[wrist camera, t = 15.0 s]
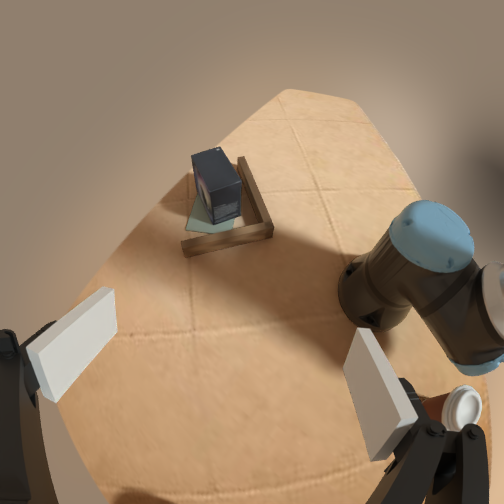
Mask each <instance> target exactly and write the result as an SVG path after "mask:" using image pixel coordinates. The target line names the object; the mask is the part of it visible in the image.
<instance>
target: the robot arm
mask: <svg viewBox="0 0 504 504" xmlns="http://www.w3.org/2000/svg"><path fill="white" fill-rule="evenodd" d="M469 235H470V231H469V229H468V227H467V225H466V224H465V223H464V221H463V220H462V219H461V218H460V217H459V216H458V215H457V214H456V213H455V212H454V211H452V210H451V209H449V208H448V207H446V206H444V205H442V204H440V203H437V202H431V201H429V200H420V201H415V202H413V203H411V204H409V205H408V206H406V207H405V208H404V210H403V211H402V212H401V213H400V214H399V215H398V216H397V217H396V218H394V219H393V221H392V222H391V225H390V227H389V228H388V230H387V231H386V232H385V234H384V235H383V236H382V238H381V239H380V240H379V242H378V243H377V244H376V246H375V247H374V248H373V249H372V251H370V252H368V253H366V254H363V255H361V256H359V257H357V258H355V259H354V260H353V261H351V262H350V263H349V265H348V266H347V267H346V268H345V270H344V271H343V273H342V275H341V277H340V280H339V285H338V295H339V300H340V304H341V306H342V308H343V310H344V312H345V314H346V315H347V316H348V318H349V319H350V320H351V321H352V322H353V323H354V324H356V325H357V326H358V327H360V328H357V330H356V333H355V335H354V338H353V341H352V344H351V347H350V350H349V352H348V355H347V358H346V360H345V363H344V366H343V371H344V375H345V378H346V381H347V384H348V387H349V390H350V393H351V396H352V400H353V403H354V406H355V409H356V413H357V416H358V419H359V423H360V426H361V430H362V433H363V437H364V440H365V444H366V447H367V451H368V454H369V458H370V462H371V461H379V460H386V459H387V458H388V457H389V456H390V455H391V453H392V452H393V453H394V455H395V459H394V460H393V461H392V463H391V464H390V465H389V466H388V467H387V468H386V469H385V470H384V472H386V473H385V475H384V476H383V478H382V480H381V481H380V483H379V484H378V486H377V487H376V489H375V491H374V492H373V494H372V495H371V497H370V498H369V499H368V501H367V502H366V504H422V503H423V501H424V498H425V496H426V499H425V504H489V473H488V458H487V448H486V440H485V434H484V431H483V430H482V429H481V427H479V426H478V425H476V424H473V423H468V424H466V425H464V427H463V428H462V429H461V431H460V432H459V431H447V429H446V427H445V426H444V425H443V424H442V423H440V422H439V421H436V420H431V419H430V417H429V415H428V414H427V412H426V410H425V408H424V406H423V404H422V403H421V401H420V399H419V397H418V395H417V394H416V393H415V390H414V388H413V386H412V385H411V384H410V383H409V382H408V381H407V380H406V379H405V378H398V377H397V376H396V374H395V372H394V370H393V368H392V366H391V365H390V363H389V361H388V359H387V357H386V356H385V354H384V352H383V350H382V349H381V347H380V345H379V343H378V342H377V340H376V338H375V336H374V335H373V333H372V332H383V331H387V330H389V329H391V328H393V327H395V326H397V325H398V324H399V323H401V322H402V321H403V320H404V319H405V317H406V316H407V314H408V312H409V311H410V309H411V307H412V306H413V307H414V309H415V310H416V311H417V313H418V314H419V315H420V317H421V318H422V319H423V321H424V322H425V324H426V325H427V327H428V328H429V329H430V331H431V332H432V334H433V335H434V337H435V338H436V340H437V341H438V343H439V344H440V346H441V347H442V349H443V350H444V352H445V353H446V355H447V357H448V358H449V360H450V361H451V362H452V363H453V364H454V365H455V366H456V367H457V369H458V370H459V371H460V372H461V373H463V374H464V375H468V376H479V375H483V374H486V373H488V372H491V371H492V370H494V369H496V368H497V367H498V366H499V364H500V363H501V362H504V264H502V263H500V262H496V261H492V262H490V263H488V264H487V265H486V266H484V267H483V268H482V269H480V268H479V266H478V265H477V264H476V262H475V261H474V259H473V258H472V256H473V253H474V241H473V238H472V237H471V236H469ZM116 333H117V321H116V310H115V296H114V289H112V288H107V287H101V288H100V289H99V290H97V291H96V292H95V293H93V294H92V295H91V296H89V297H88V298H87V299H85V300H84V301H83V302H81V303H80V304H79V305H77V306H76V307H75V308H74V309H72V310H71V311H70V312H68V313H67V314H66V315H65V316H63V317H62V318H61V319H60V320H58V321H53V322H50V323H48V324H46V325H45V326H44V327H42V328H41V330H39V331H37V332H36V334H34V335H32V336H31V337H30V338H29V339H28V340H26V341H25V342H24V343H23V344H21V345H20V346H19V344H18V341H17V338H16V334H15V333H14V332H13V331H12V330H8V329H3V330H0V504H59V503H58V500H57V497H56V494H55V490H54V487H53V483H52V479H51V475H50V471H49V467H48V462H47V458H46V453H45V447H44V442H43V436H42V429H41V421H40V412H39V402H38V395H37V392H36V391H37V390H38V389H39V388H41V391H42V393H43V395H44V397H46V398H48V399H49V400H51V401H53V402H55V403H57V401H58V400H59V399H60V398H61V397H62V395H63V394H64V393H65V392H66V390H67V389H68V388H69V387H70V386H71V384H72V383H73V382H74V381H75V380H76V378H77V377H78V376H79V375H80V374H81V373H82V371H83V370H84V369H85V368H86V367H87V366H88V364H89V363H90V362H91V361H92V360H93V359H94V357H95V356H96V355H97V354H98V353H99V352H100V351H101V349H102V348H103V347H104V346H105V345H106V344H107V343H108V341H109V340H110V339H111V338H112V337H113V336H114V335H115V334H116Z"/></svg>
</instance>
